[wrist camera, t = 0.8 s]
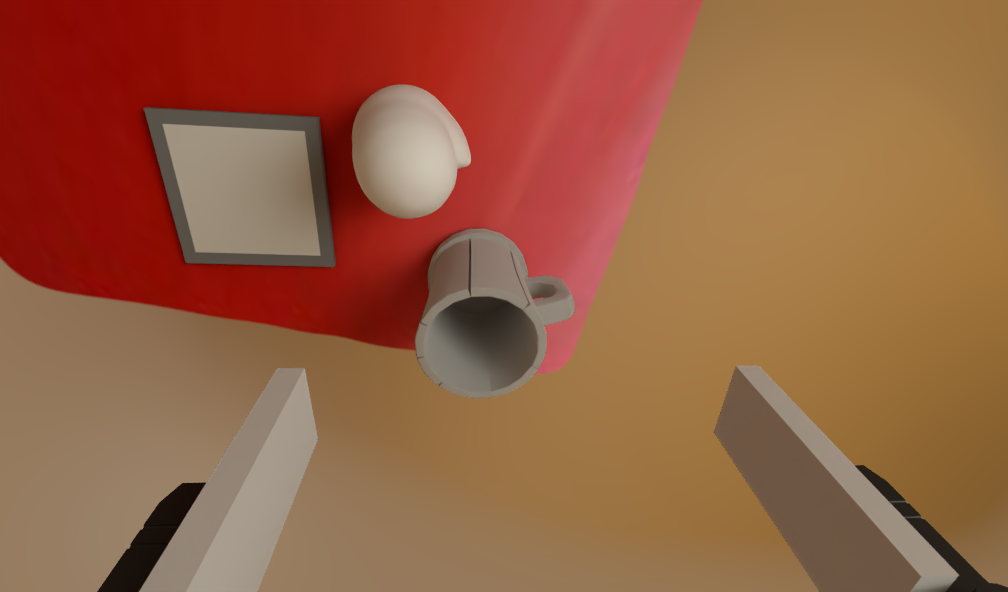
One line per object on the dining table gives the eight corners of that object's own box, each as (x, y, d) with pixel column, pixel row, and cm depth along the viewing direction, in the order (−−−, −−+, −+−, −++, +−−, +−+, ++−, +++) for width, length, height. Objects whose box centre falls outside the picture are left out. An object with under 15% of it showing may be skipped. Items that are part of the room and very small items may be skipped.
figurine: (410, 201, 38) (388, 255, 27) (344, 121, 35) (290, 148, 24) (480, 149, 36) (485, 185, 26) (417, 61, 33) (394, 60, 23)
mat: (148, 107, 33) (143, 108, 33) (319, 116, 34) (316, 117, 34) (189, 260, 39) (185, 263, 38) (335, 264, 40) (334, 266, 39)
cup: (489, 191, 38) (498, 241, 27) (562, 261, 41) (595, 330, 31) (407, 275, 41) (386, 350, 30) (481, 334, 44) (485, 420, 34)
